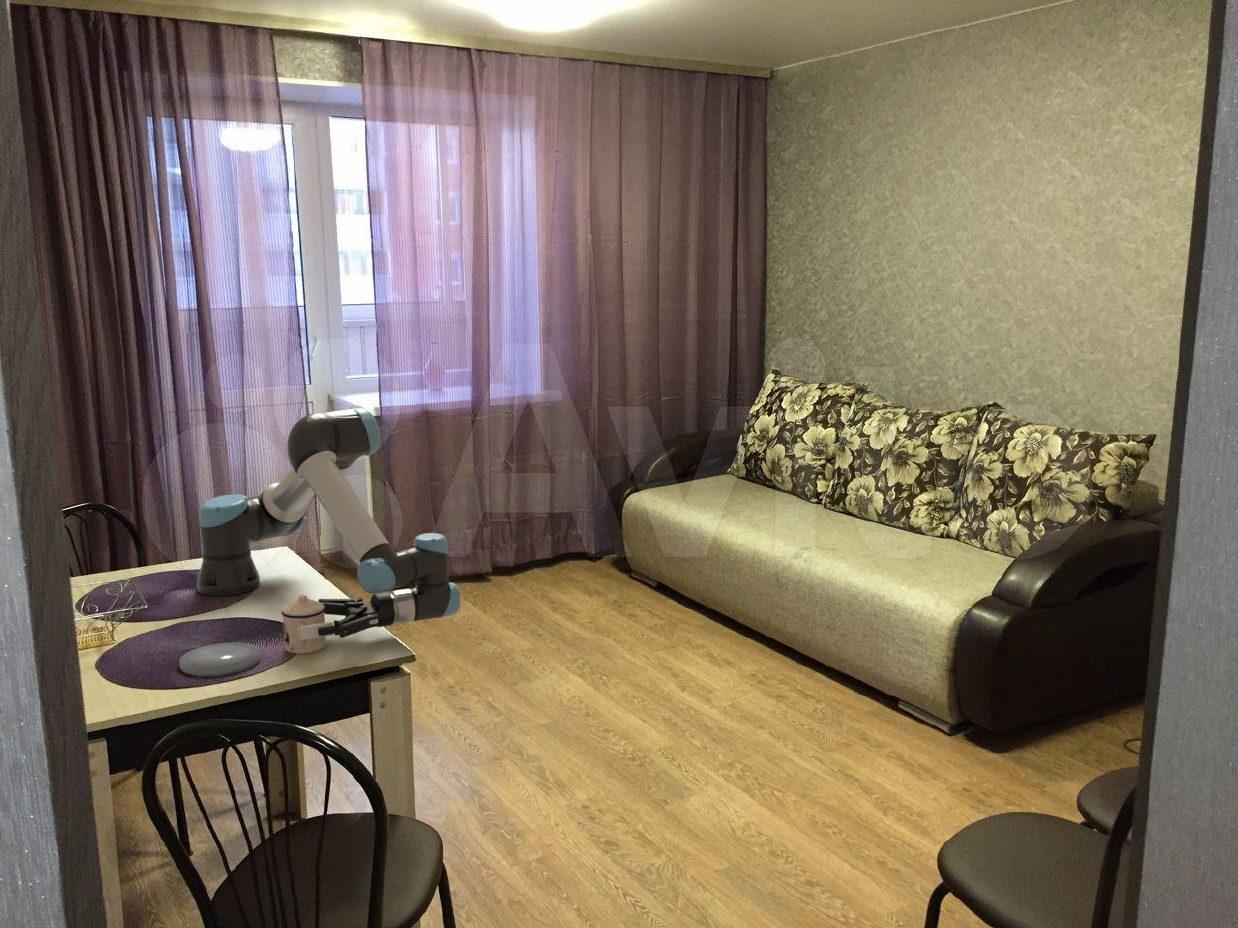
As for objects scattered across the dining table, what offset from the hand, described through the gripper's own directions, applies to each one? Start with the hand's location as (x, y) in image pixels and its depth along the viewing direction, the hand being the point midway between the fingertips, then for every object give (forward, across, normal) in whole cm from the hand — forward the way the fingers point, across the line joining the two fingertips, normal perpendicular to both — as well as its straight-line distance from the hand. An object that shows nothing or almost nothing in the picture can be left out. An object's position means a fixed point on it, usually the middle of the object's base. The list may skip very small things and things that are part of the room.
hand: (294, 623), depth 221 cm
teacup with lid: (-2, 0, -7) cm, 7 cm away
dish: (+15, +1, -6) cm, 16 cm away
